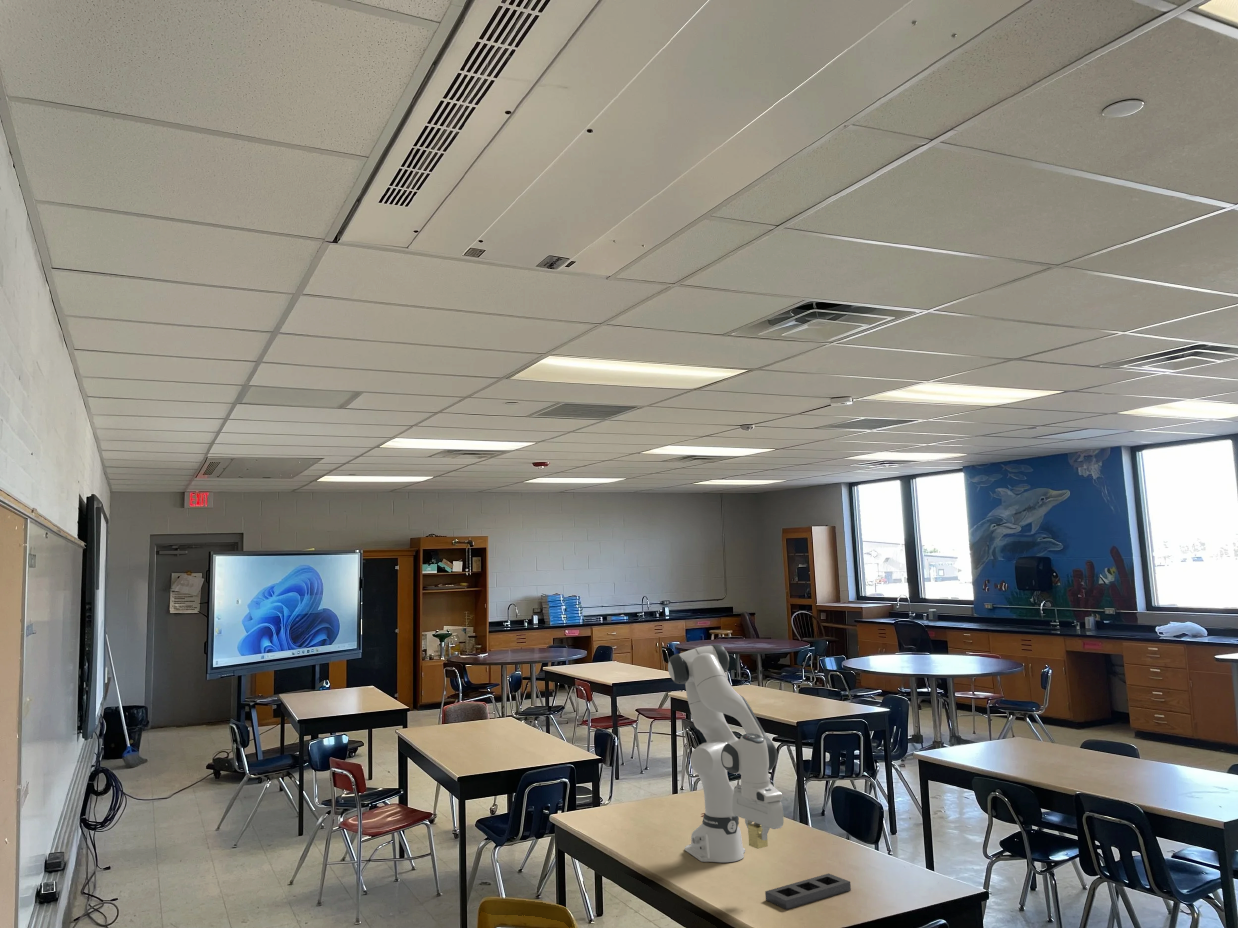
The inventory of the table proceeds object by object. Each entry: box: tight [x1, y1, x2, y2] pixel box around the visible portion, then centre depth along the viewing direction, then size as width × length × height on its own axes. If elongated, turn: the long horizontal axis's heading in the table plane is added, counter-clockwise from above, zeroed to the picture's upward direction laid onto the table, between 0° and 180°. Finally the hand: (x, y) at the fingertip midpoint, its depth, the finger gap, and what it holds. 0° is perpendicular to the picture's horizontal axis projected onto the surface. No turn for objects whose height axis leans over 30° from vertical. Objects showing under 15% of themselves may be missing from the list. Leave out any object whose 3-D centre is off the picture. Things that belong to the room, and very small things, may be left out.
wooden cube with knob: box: [747, 822, 769, 850], centre depth 251 cm, size 4×4×6 cm
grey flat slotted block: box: [764, 873, 852, 911], centre depth 248 cm, size 9×26×2 cm, turn 121°
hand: (757, 837), depth 251 cm, fingers closed on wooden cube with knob, 4 cm apart
